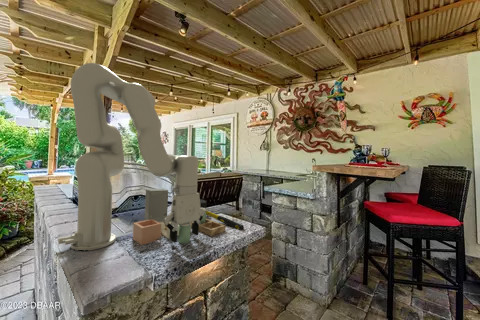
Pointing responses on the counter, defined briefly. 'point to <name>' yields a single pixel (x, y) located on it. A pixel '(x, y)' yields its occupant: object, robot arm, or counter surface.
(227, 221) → the mallet
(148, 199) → the skincare box
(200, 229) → the trough
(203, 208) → the cylinder
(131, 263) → the counter surface
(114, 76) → the robot arm
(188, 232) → the cylinder
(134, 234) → the orange open box
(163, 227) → the cradle
